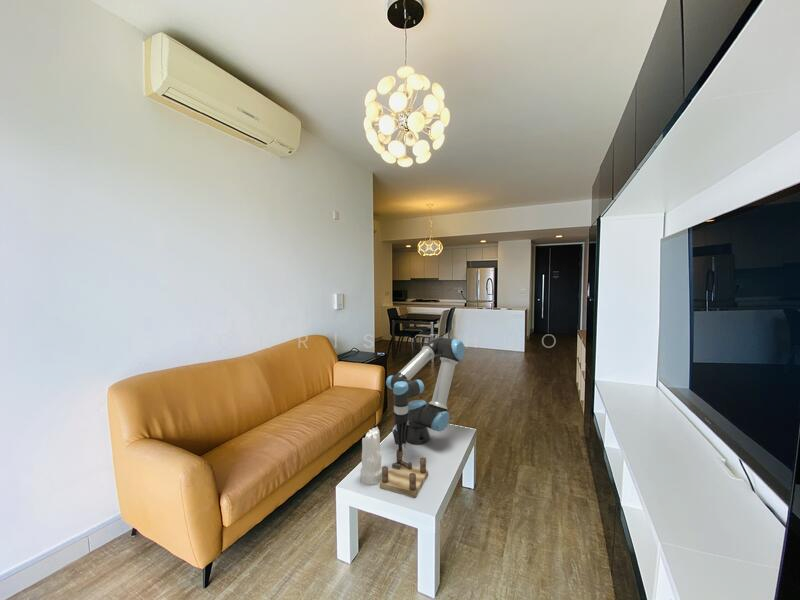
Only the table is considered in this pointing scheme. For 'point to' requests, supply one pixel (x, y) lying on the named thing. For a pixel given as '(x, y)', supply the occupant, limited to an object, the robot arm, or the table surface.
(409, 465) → the hinged leg
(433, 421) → the robot arm
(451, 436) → the table surface
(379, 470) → the white tall rough piece
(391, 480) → the stool seat
